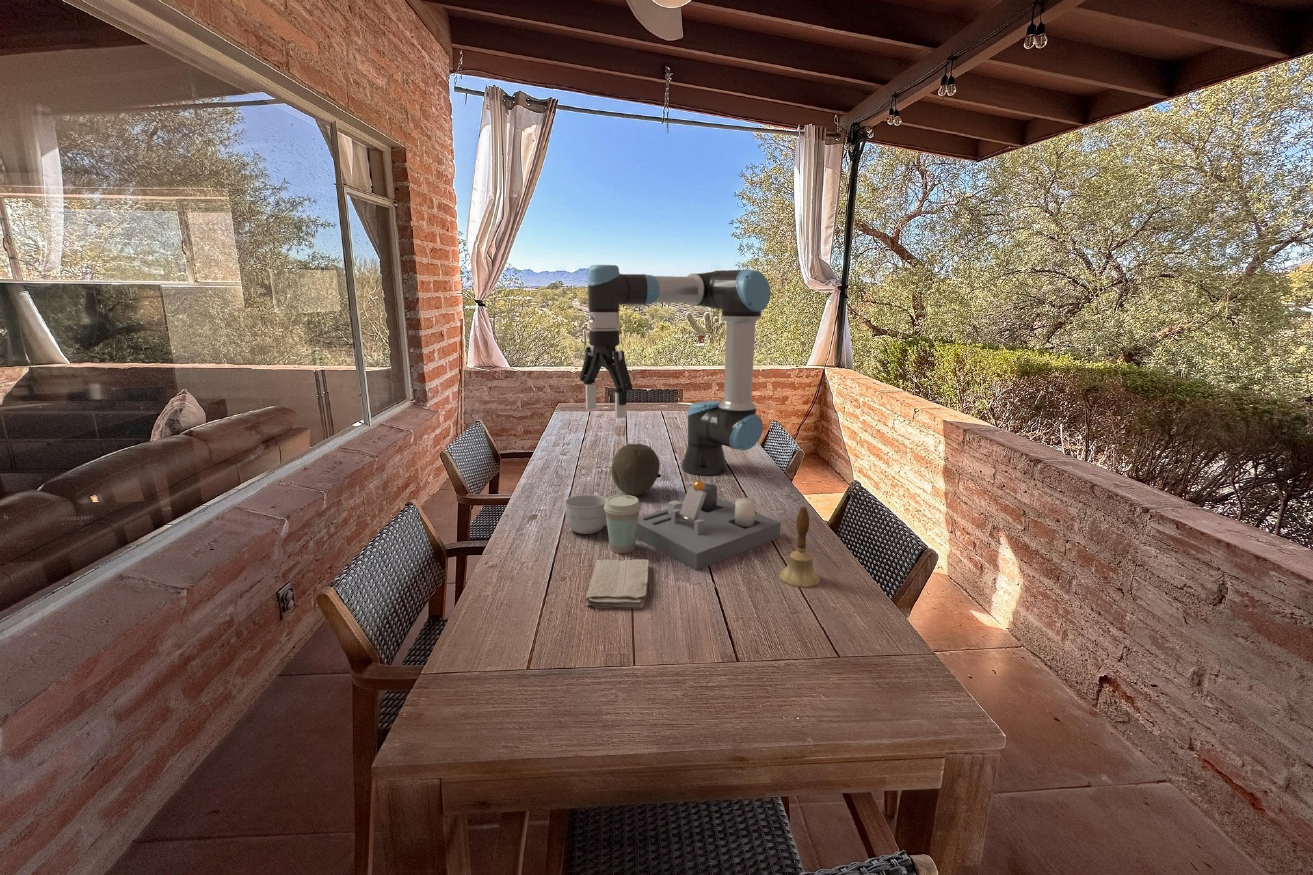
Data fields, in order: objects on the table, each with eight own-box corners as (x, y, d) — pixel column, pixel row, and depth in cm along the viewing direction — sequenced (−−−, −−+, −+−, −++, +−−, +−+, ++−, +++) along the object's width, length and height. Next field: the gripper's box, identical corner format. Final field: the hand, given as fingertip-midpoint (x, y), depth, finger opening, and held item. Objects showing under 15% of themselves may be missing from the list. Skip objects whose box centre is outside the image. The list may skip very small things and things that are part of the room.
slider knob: (675, 511, 148) (675, 500, 147) (681, 514, 146) (681, 502, 146) (668, 513, 147) (668, 502, 146) (674, 516, 145) (674, 505, 144)
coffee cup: (636, 557, 131) (636, 508, 128) (599, 554, 133) (599, 505, 130) (644, 542, 140) (644, 495, 137) (610, 538, 141) (609, 492, 138)
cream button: (743, 517, 145) (744, 496, 144) (758, 523, 141) (759, 501, 140) (730, 521, 142) (731, 500, 141) (745, 528, 138) (746, 506, 137)
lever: (681, 518, 141) (695, 478, 142) (699, 526, 137) (714, 485, 137) (673, 516, 140) (688, 476, 140) (691, 524, 135) (706, 482, 135)
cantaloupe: (658, 502, 166) (659, 451, 162) (609, 501, 166) (608, 451, 162) (659, 486, 179) (660, 439, 176) (614, 485, 180) (613, 438, 176)
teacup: (556, 532, 145) (555, 502, 143) (582, 518, 154) (581, 489, 152) (604, 544, 138) (603, 512, 136) (627, 528, 148) (627, 498, 146)
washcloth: (584, 611, 111) (584, 596, 110) (595, 567, 128) (594, 554, 127) (646, 611, 110) (647, 597, 110) (648, 567, 128) (649, 555, 127)
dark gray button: (707, 502, 155) (708, 482, 153) (720, 507, 151) (721, 487, 150) (694, 506, 152) (695, 486, 150) (707, 512, 148) (707, 491, 147)
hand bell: (791, 590, 118) (796, 517, 114) (772, 571, 126) (777, 502, 122) (827, 585, 120) (834, 513, 116) (807, 567, 128) (812, 499, 124)
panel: (711, 509, 161) (712, 485, 159) (779, 537, 143) (781, 510, 141) (630, 534, 144) (630, 508, 142) (696, 570, 126) (697, 540, 124)
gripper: (565, 327, 151) (567, 406, 157) (620, 333, 132) (621, 423, 138) (589, 326, 156) (591, 403, 161) (646, 332, 137) (646, 419, 142)
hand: (605, 413), depth 149 cm, fingers open, 13 cm apart
